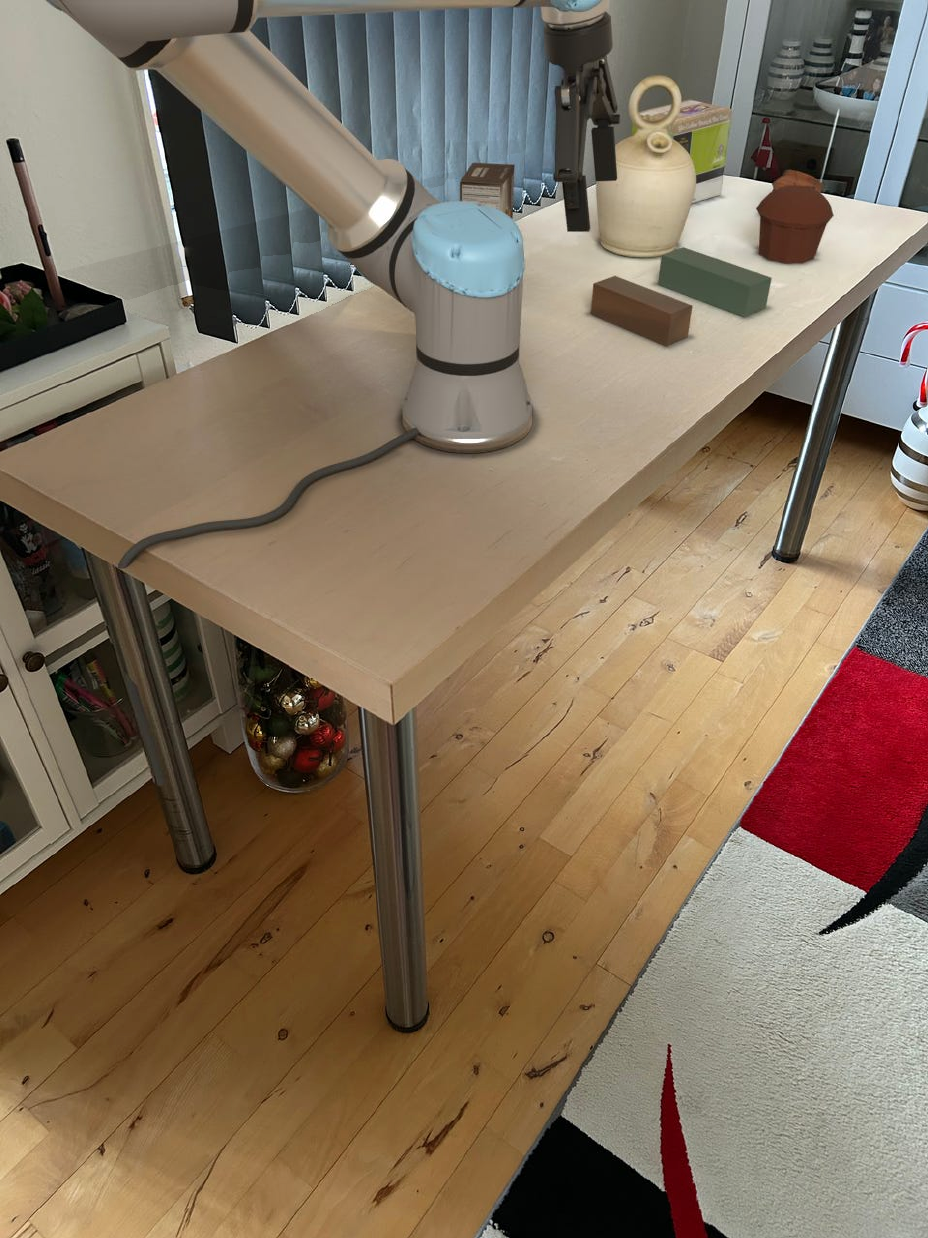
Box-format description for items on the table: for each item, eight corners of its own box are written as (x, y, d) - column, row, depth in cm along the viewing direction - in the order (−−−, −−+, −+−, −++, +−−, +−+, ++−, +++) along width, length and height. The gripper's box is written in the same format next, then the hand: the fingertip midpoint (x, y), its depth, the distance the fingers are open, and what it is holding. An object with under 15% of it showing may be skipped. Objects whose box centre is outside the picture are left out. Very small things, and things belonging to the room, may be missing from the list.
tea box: (680, 183, 189) (692, 96, 180) (721, 196, 183) (735, 108, 174) (623, 199, 182) (632, 109, 173) (664, 213, 176) (676, 121, 166)
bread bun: (748, 211, 178) (770, 165, 176) (789, 234, 182) (811, 188, 179) (782, 215, 168) (807, 165, 165) (825, 238, 171) (850, 190, 168)
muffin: (824, 245, 164) (839, 181, 158) (823, 269, 156) (839, 203, 150) (750, 238, 167) (761, 174, 160) (745, 262, 158) (758, 196, 152)
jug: (678, 267, 157) (703, 90, 141) (581, 255, 160) (595, 81, 144) (693, 235, 168) (718, 67, 152) (602, 224, 171) (617, 59, 155)
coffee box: (470, 270, 155) (472, 160, 145) (511, 274, 154) (515, 163, 144) (458, 293, 148) (458, 179, 138) (501, 297, 147) (504, 182, 137)
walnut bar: (666, 346, 135) (671, 314, 132) (590, 314, 143) (593, 283, 140) (688, 337, 137) (693, 305, 134) (611, 305, 145) (614, 275, 142)
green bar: (744, 317, 142) (750, 286, 139) (657, 284, 151) (661, 254, 148) (765, 308, 144) (772, 277, 142) (679, 276, 154) (683, 246, 151)
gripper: (579, 57, 103) (597, 253, 118) (635, -24, 118) (644, 159, 133) (510, 62, 105) (536, 253, 120) (573, -17, 120) (589, 161, 135)
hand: (593, 204), depth 127 cm, fingers open, 13 cm apart
